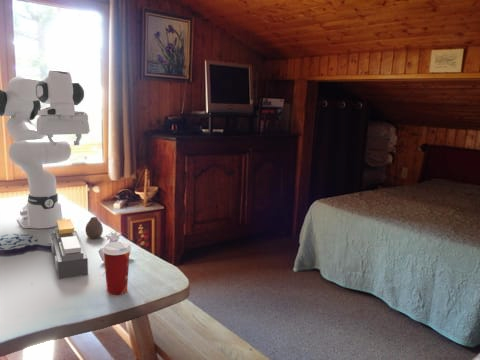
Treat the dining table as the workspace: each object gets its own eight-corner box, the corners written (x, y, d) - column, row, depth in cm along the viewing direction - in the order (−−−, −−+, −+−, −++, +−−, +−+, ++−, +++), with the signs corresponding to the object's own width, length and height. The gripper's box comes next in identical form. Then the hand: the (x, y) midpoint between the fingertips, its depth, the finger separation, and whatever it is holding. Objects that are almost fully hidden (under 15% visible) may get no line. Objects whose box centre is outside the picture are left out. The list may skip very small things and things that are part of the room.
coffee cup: (135, 291, 127) (135, 246, 124) (112, 299, 120) (111, 252, 118) (121, 282, 132) (121, 239, 129) (97, 290, 126) (97, 244, 123)
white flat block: (61, 241, 142) (60, 237, 141) (76, 240, 144) (76, 235, 144) (64, 254, 131) (64, 249, 131) (80, 251, 134) (80, 247, 134)
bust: (129, 261, 154) (123, 233, 158) (135, 254, 149) (129, 226, 153) (98, 267, 147) (92, 238, 151) (103, 261, 142) (96, 231, 146)
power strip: (50, 247, 157) (50, 228, 156) (76, 244, 162) (76, 225, 160) (57, 279, 131) (56, 256, 130) (87, 274, 136) (87, 252, 134)
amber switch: (56, 224, 156) (56, 220, 156) (70, 222, 158) (70, 219, 158) (59, 233, 146) (59, 229, 145) (74, 232, 148) (74, 228, 148)
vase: (97, 241, 167) (97, 221, 165) (82, 239, 168) (81, 219, 167) (105, 235, 174) (105, 216, 172) (91, 234, 175) (91, 214, 173)
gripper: (83, 111, 170) (85, 144, 172) (33, 111, 155) (36, 147, 156) (91, 111, 166) (93, 144, 168) (40, 110, 150) (43, 147, 152)
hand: (65, 145), depth 162 cm, fingers open, 8 cm apart
